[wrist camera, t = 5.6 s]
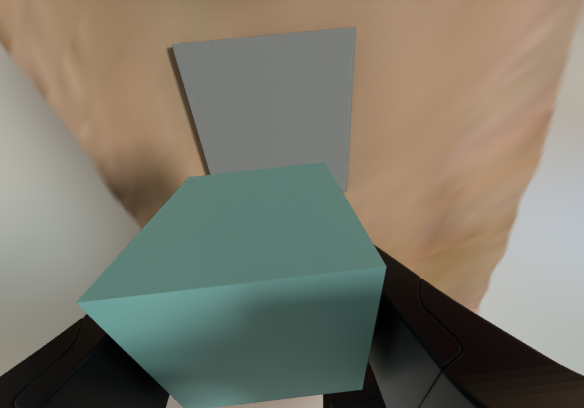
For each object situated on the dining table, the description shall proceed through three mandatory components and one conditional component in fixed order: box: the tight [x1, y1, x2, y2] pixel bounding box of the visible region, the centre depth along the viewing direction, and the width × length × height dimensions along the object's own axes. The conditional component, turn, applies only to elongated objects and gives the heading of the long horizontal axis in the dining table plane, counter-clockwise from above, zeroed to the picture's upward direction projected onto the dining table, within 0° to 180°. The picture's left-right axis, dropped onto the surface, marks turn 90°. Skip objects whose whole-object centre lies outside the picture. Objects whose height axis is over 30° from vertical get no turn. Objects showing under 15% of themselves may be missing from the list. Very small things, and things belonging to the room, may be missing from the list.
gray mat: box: [172, 27, 356, 192], centre depth 17 cm, size 12×12×1 cm
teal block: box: [76, 162, 386, 408], centre depth 7 cm, size 5×5×5 cm
